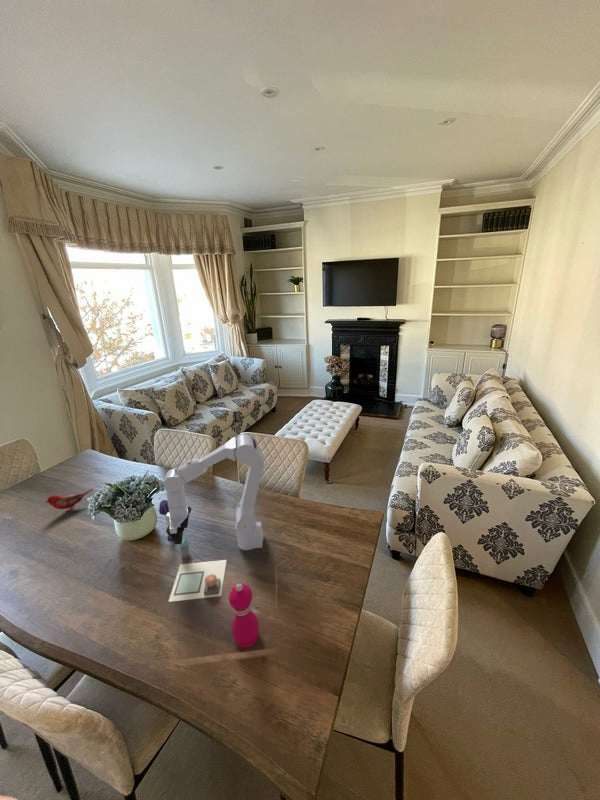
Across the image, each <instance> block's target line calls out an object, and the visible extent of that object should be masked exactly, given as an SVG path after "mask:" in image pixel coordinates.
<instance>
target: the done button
mask: <svg viewBox="0 0 600 800" xmlns="http://www.w3.org/2000/svg"><path fill="white" fill-rule="evenodd" d="M216 583H217V577H216V575H214V574H211V575H209V576H207V577H206V579H205V584H206V586H207V587H213V586H214V585H215V584H216Z"/></svg>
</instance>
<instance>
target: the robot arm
mask: <svg viewBox="0 0 600 800" xmlns="http://www.w3.org/2000/svg"><path fill="white" fill-rule="evenodd" d="M226 459H229V460H231V461H233V462H236V461H237V460H238V461H239V462H241V463H243V464H244V465H245V464H246V465H247V466H248V470H247V474H246V477H245V482H244V488H243V492H242V497H241V499H240V500H239V503H238V505H236V507H235V511H234V512H235V534H236V538H237V546H238V548H239V549H240V550H241V551H250V550H253V549H258V548H259V549H260V548H261V549H262V548H263V543H264V539H265V538H264V534H263V533H264V532H263V525H262V522H261V521H255V519H254V518H255V517H254V516H255V505H256V500H257V497H258V491H259V488H260V483H261V479H262V476H263V471H264V467H265V459H264V455H263V454H262V452H261V450H260V447H259V445H258V442H257V440H256V439H255V438H254V436H252V435H251V434H250V433H247V432H241V433H240V434H238V435H236V436H234V437H231V438H230V439H229V440H228V441H226V442H225V443H224V444H223V445H221V446H219V447H217V448H215V450H213V451H210V453H207V455H204V456H203V457H202V458H197V457H196V458H193V459H191V458H190V459H188V460H187V461H186V463H184V464H182V465H181V466H179V467H175V468H171V469H169V470H168V471H167V472H166V475H165V479H164V481H163V488H164V490H165V491H166V498H167V499H166V500H167V501H168V507H169V512H168V513H167V515H166V517H167V518H169V519H170V527H168V526H167V528H166V532H165V533H166V534H167V535H168V534H169V535H170V536H171V537H172V539H173V540H172V541H173V543H174V544H175V545H179V544H181V543H182V539H183V537H184V536H183V535H184V532H185V529H187V528H188V526H189V525H188V524H189V518H190V514H191V511H192V507H190V506H188V500H187V497H186V489H185V484H187V483H189V482H191V481H193V480H194V479H196V478H198V477H200V476H201V475H204V473H205V470H206V469H207V468H209V467H211V466H213V465H215V464H217V463H219V462H221V461H224V460H226ZM166 517H165V518H166Z"/></svg>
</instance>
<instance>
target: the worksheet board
mask: <svg viewBox="0 0 600 800" xmlns="http://www.w3.org/2000/svg"><path fill="white" fill-rule="evenodd" d="M226 567H227V559H221V560H212V561H209V560H208V561H202V562H192V563H183V564H181V563H180V565H179V567H178V570H177V573H176V577H175V580H174V583H173V586H172V588H171V589H172V590H171V593H170V595H169V598H168V603H172V602H179V601H181V602H182V601H188V600H196V599H197V600H198V599H206V598H207V599H208V598H213V597H214V598H215V597H221V596H222V591H223V586H224V585H223V584H224V578H225V571H226ZM211 574H214V575H216V577H217V583H216V584H215V585H214V586H213V587H207V586H206V584H205V579H206V577H207V576H209V575H211Z"/></svg>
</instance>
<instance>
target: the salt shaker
mask: <svg viewBox="0 0 600 800" xmlns="http://www.w3.org/2000/svg"><path fill="white" fill-rule="evenodd" d="M178 547H179V549H180V555H181V558H182V559H187V558H189V557H190V556H191V552H190V547H189V541H188V539H186V538H182V543H181V544H178Z"/></svg>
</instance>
